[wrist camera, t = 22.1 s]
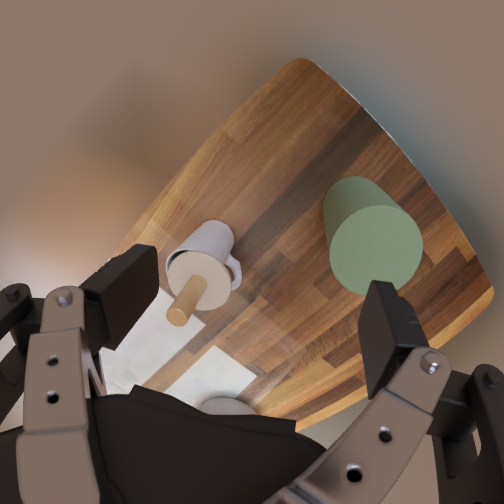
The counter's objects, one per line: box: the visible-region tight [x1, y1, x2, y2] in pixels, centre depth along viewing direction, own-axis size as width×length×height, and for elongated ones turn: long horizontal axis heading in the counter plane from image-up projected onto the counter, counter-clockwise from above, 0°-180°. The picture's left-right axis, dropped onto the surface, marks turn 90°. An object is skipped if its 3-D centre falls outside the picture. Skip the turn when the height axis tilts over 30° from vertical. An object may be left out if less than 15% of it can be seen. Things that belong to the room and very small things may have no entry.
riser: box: [322, 176, 423, 296], centre depth 35 cm, size 10×10×16 cm
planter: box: [198, 398, 258, 415], centre depth 60 cm, size 17×17×15 cm
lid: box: [166, 251, 232, 326], centre depth 34 cm, size 8×8×8 cm
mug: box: [166, 220, 242, 291], centre depth 43 cm, size 10×7×12 cm, turn 54°
